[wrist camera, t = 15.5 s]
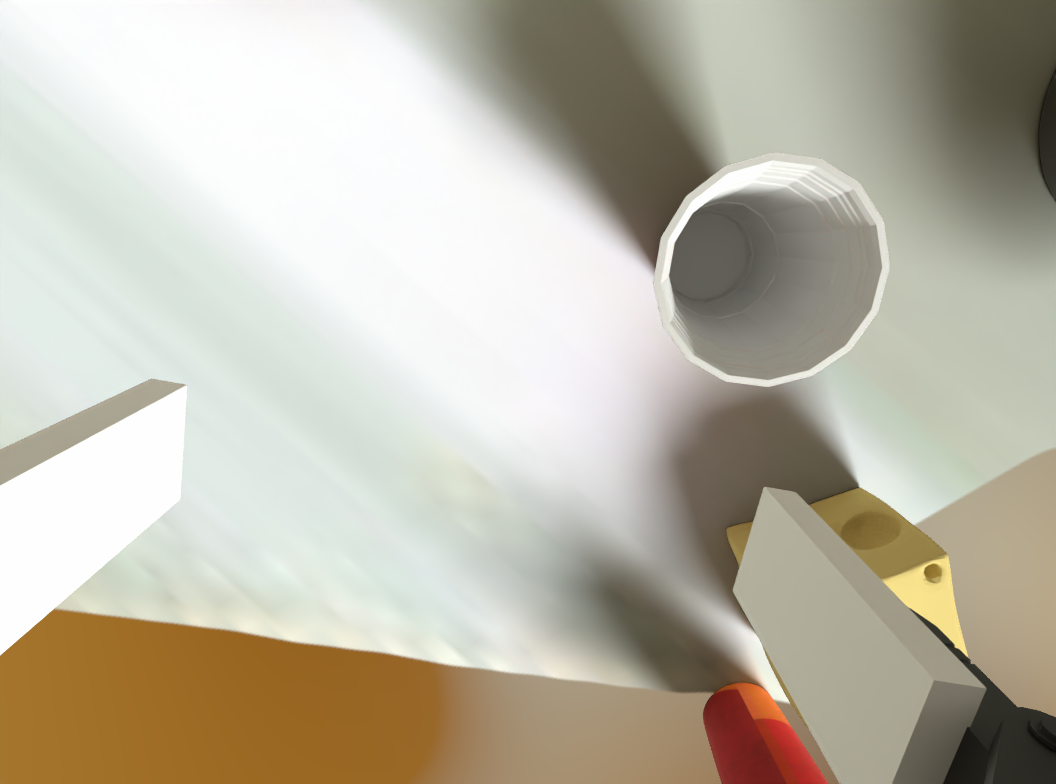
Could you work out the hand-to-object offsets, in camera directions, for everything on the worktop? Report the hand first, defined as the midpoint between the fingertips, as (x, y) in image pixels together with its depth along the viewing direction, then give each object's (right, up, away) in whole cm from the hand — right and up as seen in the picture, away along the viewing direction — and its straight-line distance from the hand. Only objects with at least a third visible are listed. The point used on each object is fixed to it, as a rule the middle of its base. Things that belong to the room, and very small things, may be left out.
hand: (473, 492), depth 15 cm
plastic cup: (+12, +11, +28) cm, 32 cm away
